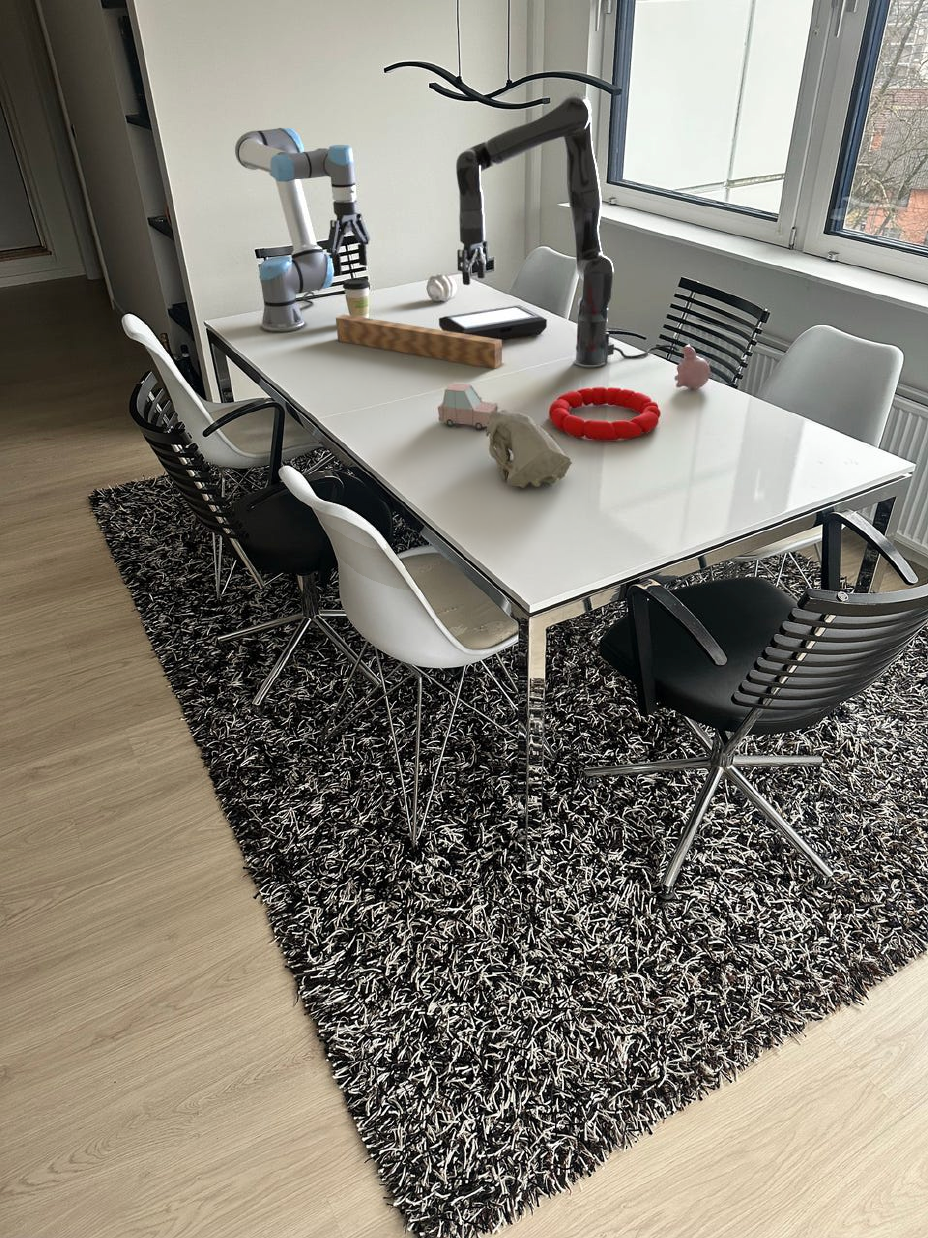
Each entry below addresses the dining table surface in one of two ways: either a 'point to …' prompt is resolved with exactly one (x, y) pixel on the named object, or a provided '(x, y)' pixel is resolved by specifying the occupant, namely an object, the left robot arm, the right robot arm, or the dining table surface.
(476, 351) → the bar
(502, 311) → the electronic device
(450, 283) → the seashell
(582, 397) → the decorative ring
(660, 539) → the dining table surface
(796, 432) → the dining table surface
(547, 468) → the animal skull
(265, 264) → the left robot arm
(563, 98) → the right robot arm
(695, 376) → the figurine
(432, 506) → the dining table surface
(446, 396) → the toy car
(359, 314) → the coffee cup
